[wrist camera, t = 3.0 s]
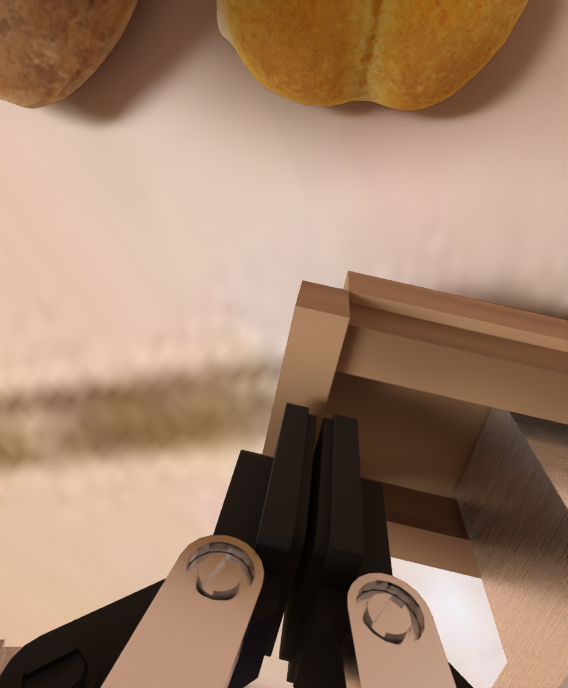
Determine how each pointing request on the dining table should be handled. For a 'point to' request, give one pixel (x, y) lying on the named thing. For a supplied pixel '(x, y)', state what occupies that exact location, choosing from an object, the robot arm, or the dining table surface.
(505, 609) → the rider
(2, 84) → the stone cup
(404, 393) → the beam
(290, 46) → the bread roll
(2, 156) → the dining table surface
